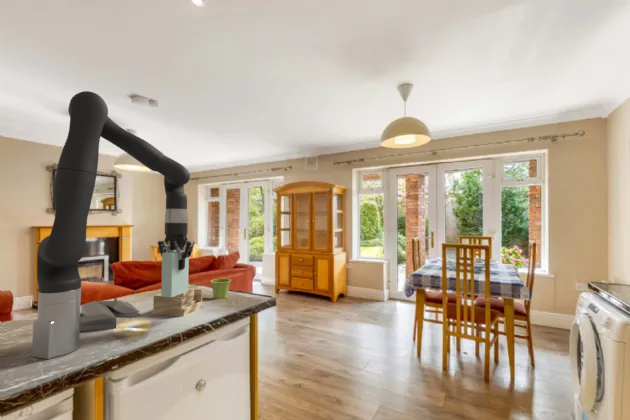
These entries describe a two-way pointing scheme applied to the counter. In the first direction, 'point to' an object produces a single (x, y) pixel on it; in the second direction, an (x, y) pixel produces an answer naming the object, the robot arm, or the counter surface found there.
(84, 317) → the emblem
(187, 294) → the offcut top
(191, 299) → the offcut middle
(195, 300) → the offcut bottom
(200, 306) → the rack
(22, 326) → the counter surface
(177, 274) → the tall board
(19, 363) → the counter surface
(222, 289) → the plant pot
